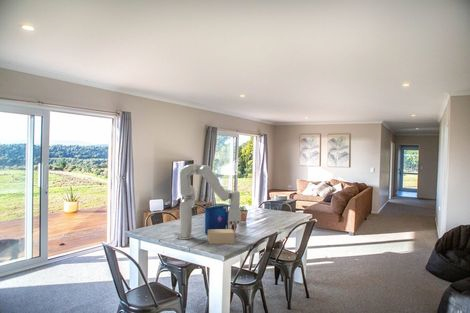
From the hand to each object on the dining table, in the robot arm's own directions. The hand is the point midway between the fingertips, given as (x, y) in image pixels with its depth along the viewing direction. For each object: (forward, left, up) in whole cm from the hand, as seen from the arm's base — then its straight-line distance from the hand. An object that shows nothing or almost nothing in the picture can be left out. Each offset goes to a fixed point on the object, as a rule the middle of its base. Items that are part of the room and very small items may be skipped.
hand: (234, 229), depth 252 cm
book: (-10, +24, -9) cm, 28 cm away
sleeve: (-10, 0, -9) cm, 14 cm away
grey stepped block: (-9, 0, -8) cm, 13 cm away
